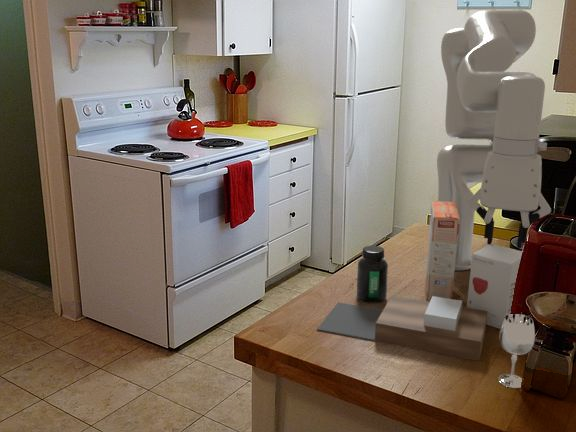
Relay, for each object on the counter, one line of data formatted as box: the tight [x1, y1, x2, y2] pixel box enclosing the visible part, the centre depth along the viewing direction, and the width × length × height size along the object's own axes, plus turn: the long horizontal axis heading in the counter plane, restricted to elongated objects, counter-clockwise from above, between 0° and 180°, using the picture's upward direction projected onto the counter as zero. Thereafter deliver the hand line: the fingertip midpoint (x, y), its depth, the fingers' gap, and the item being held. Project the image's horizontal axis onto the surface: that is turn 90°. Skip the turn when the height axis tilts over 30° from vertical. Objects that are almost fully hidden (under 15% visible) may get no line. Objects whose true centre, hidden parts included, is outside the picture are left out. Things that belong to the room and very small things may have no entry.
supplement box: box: [466, 243, 523, 330], centre depth 130 cm, size 9×9×15 cm
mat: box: [316, 301, 384, 342], centre depth 130 cm, size 14×12×1 cm
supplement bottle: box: [356, 245, 389, 304], centre depth 140 cm, size 7×7×12 cm
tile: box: [424, 296, 463, 331], centre depth 122 cm, size 9×6×2 cm, turn 158°
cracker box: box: [424, 200, 460, 302], centre depth 141 cm, size 14×6×21 cm, turn 168°
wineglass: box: [497, 313, 536, 389], centre depth 106 cm, size 6×6×12 cm
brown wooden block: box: [374, 295, 488, 362], centre depth 124 cm, size 14×20×4 cm
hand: (504, 243), depth 114 cm, fingers open, 4 cm apart
